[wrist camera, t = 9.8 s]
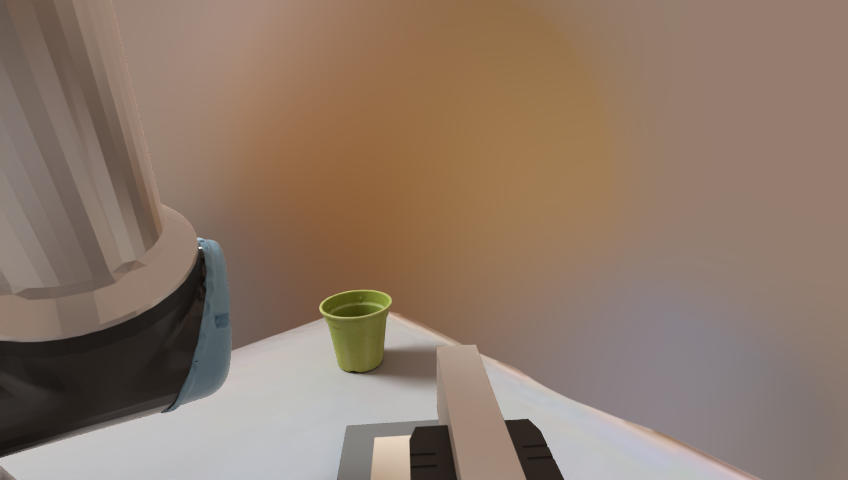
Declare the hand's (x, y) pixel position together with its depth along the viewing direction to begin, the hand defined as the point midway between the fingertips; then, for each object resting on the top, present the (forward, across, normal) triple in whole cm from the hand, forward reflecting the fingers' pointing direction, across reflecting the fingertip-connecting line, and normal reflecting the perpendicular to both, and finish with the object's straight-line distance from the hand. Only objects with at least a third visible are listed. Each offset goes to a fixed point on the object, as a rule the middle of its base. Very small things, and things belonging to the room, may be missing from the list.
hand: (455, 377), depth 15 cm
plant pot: (+35, -8, -21) cm, 42 cm away
